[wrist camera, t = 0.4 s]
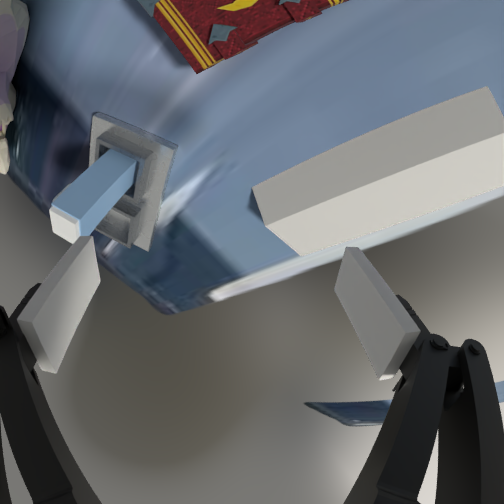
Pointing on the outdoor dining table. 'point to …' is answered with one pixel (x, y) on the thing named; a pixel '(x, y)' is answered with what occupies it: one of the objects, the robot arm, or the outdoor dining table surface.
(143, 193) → the panel
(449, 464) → the robot arm
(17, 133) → the outdoor dining table surface
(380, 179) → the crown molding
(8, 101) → the toy
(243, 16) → the decorative book
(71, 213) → the plug
